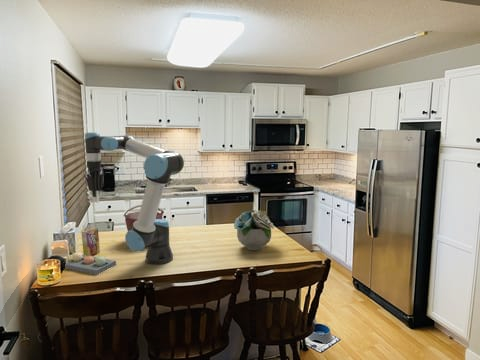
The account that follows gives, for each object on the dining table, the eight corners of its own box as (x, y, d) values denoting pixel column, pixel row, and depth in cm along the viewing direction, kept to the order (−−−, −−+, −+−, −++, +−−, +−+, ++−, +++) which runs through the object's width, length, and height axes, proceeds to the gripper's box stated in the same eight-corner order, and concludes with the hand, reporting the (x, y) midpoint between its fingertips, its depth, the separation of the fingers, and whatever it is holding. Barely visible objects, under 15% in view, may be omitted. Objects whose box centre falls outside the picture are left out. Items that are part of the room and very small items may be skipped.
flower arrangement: (271, 257, 204) (272, 216, 200) (229, 254, 209) (229, 213, 205) (276, 243, 228) (277, 206, 224) (238, 240, 233) (238, 204, 229)
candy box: (94, 251, 212) (93, 227, 210) (100, 252, 211) (98, 228, 208) (82, 256, 204) (81, 231, 202) (88, 257, 203) (86, 232, 200)
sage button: (107, 263, 188) (107, 256, 188) (100, 267, 184) (100, 260, 183) (100, 262, 190) (100, 255, 190) (93, 266, 186) (93, 258, 185)
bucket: (168, 238, 238) (167, 202, 234) (157, 249, 216) (156, 209, 212) (133, 237, 240) (131, 201, 236) (119, 248, 219) (117, 208, 215)
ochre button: (84, 259, 194) (84, 252, 194) (77, 262, 190) (77, 255, 189) (77, 258, 196) (77, 251, 196) (70, 261, 192) (70, 254, 191)
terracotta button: (96, 263, 192) (95, 256, 191) (89, 267, 187) (88, 259, 186) (89, 262, 193) (88, 255, 193) (82, 265, 189) (81, 258, 188)
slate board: (116, 265, 192) (115, 260, 192) (97, 275, 180) (96, 270, 179) (82, 258, 201) (82, 254, 201) (61, 267, 188) (61, 263, 188)
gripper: (97, 159, 203) (99, 199, 206) (79, 161, 191) (82, 204, 194) (107, 159, 200) (109, 200, 204) (90, 161, 188) (92, 205, 192)
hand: (96, 202), depth 199 cm, fingers closed
